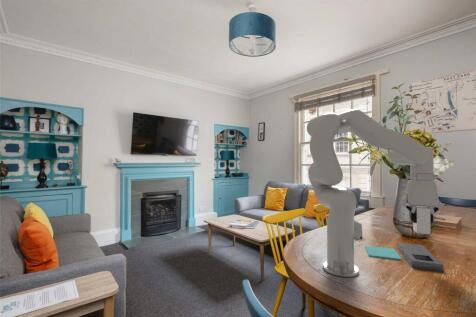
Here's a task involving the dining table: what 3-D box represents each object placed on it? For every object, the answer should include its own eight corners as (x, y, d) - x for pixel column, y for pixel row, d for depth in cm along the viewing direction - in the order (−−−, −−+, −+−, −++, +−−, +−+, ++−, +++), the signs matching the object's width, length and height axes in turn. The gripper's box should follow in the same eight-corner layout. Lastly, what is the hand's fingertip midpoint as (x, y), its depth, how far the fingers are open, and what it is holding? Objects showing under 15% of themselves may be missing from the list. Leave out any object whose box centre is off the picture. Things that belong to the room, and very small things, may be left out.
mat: (401, 260, 100) (401, 258, 100) (368, 256, 104) (368, 254, 104) (394, 250, 111) (394, 248, 111) (365, 246, 116) (365, 245, 116)
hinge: (328, 232, 138) (330, 215, 140) (331, 233, 141) (333, 216, 144) (360, 239, 127) (361, 220, 129) (362, 240, 130) (364, 221, 133)
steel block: (430, 234, 94) (430, 208, 94) (416, 233, 95) (416, 207, 95) (426, 231, 98) (426, 206, 98) (413, 230, 99) (413, 205, 99)
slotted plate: (443, 271, 90) (443, 264, 90) (411, 267, 94) (411, 260, 94) (422, 250, 111) (422, 245, 111) (397, 247, 114) (397, 242, 114)
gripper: (443, 177, 97) (443, 222, 97) (394, 176, 103) (394, 218, 103) (452, 178, 90) (452, 227, 90) (399, 177, 96) (399, 223, 96)
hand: (421, 222), depth 97 cm, fingers closed on steel block, 4 cm apart
